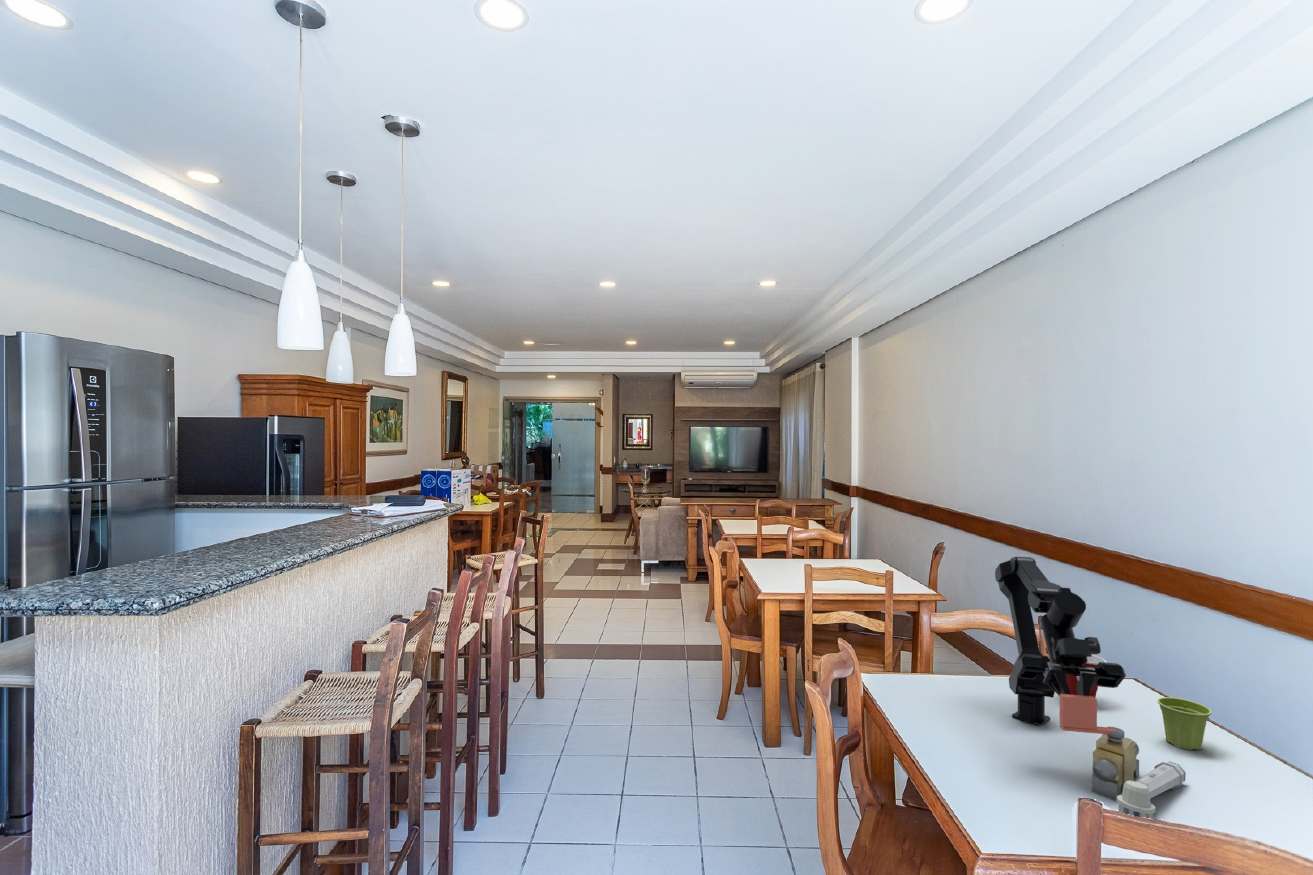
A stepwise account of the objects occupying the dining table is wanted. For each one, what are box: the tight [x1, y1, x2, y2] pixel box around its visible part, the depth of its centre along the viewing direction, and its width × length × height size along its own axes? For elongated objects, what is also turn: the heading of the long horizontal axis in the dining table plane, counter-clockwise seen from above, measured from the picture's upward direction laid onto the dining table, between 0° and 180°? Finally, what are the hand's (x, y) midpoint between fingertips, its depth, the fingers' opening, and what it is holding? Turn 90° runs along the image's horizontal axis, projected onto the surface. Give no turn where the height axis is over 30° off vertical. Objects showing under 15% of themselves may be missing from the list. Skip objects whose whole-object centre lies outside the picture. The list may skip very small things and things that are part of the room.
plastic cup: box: [1066, 654, 1108, 699], centre depth 168 cm, size 11×11×12 cm
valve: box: [1091, 734, 1140, 801], centre depth 126 cm, size 16×5×9 cm, turn 130°
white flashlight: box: [1116, 761, 1187, 820], centre depth 119 cm, size 5×7×25 cm
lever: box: [1059, 694, 1125, 739], centre depth 126 cm, size 11×3×7 cm, turn 79°
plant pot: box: [1156, 696, 1213, 751], centre depth 143 cm, size 9×9×9 cm
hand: (1079, 711), depth 127 cm, fingers closed
